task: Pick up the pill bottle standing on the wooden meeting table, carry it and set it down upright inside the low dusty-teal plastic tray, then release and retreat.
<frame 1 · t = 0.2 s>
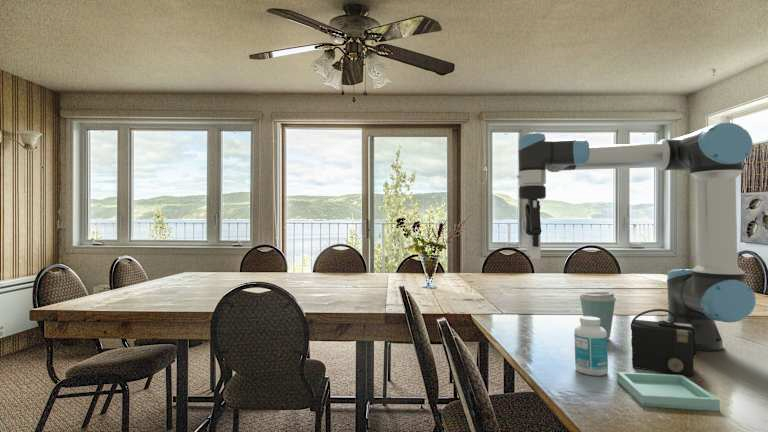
hand: (533, 256, 125), 28 cm above the table, fingers open, 13 cm apart
tray: (664, 394, 91), on the table
pill bottle: (591, 372, 106), on the table
camera: (662, 368, 109), on the table
disposable coffee cup: (598, 338, 138), on the table
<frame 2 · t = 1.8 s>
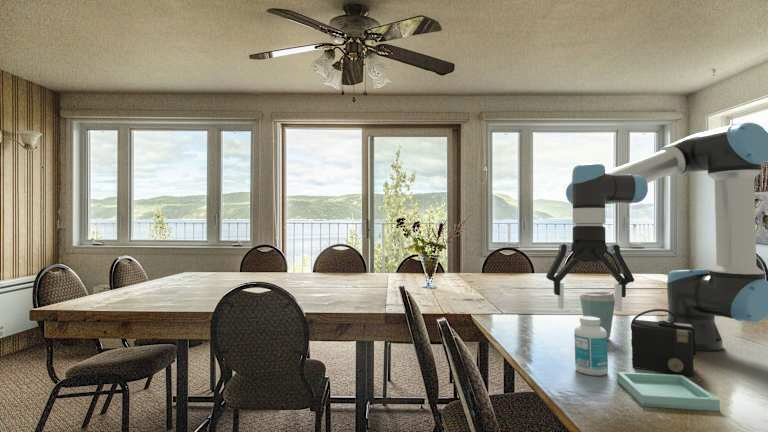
hand: (589, 309, 106), 16 cm above the table, fingers open, 13 cm apart
nothing on the table moved.
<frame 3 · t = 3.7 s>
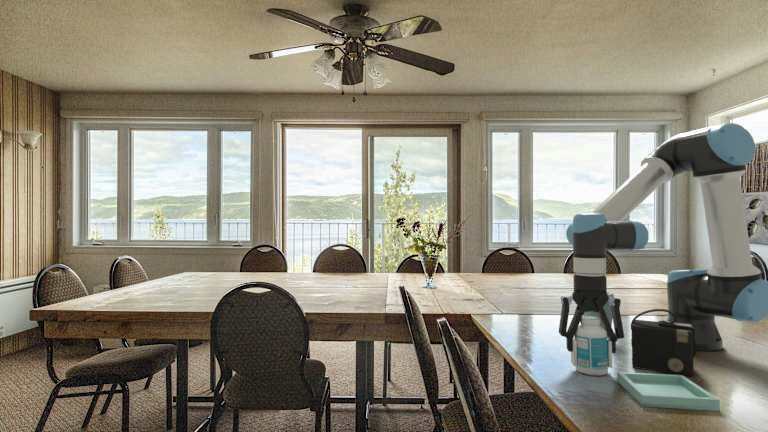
hand: (591, 365, 106), 2 cm above the table, fingers closed on pill bottle, 7 cm apart
pill bottle: (591, 372, 106), on the table, touching gripper
everything else where it was.
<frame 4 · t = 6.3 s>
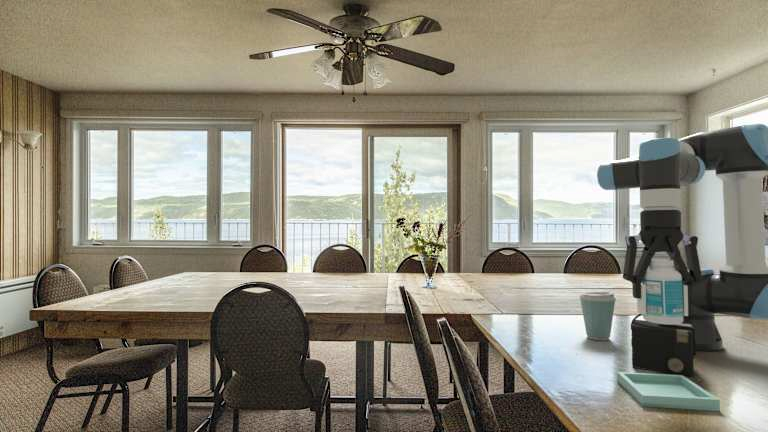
hand: (662, 313, 92), 18 cm above the table, fingers closed on pill bottle, 7 cm apart
pill bottle: (662, 322, 92), point 16 cm above the table, touching gripper
everything else where it was.
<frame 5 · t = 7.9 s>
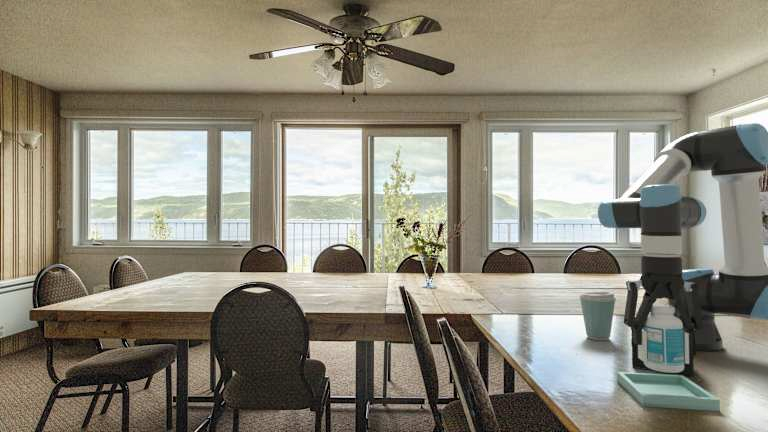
hand: (663, 360, 92), 7 cm above the table, fingers closed on pill bottle, 7 cm apart
pill bottle: (663, 369, 91), point 6 cm above the table, touching gripper
everything else where it was.
when the fingers open (3 cm above the table, at t = 9.2 s): pill bottle stays where it is, resting on tray.
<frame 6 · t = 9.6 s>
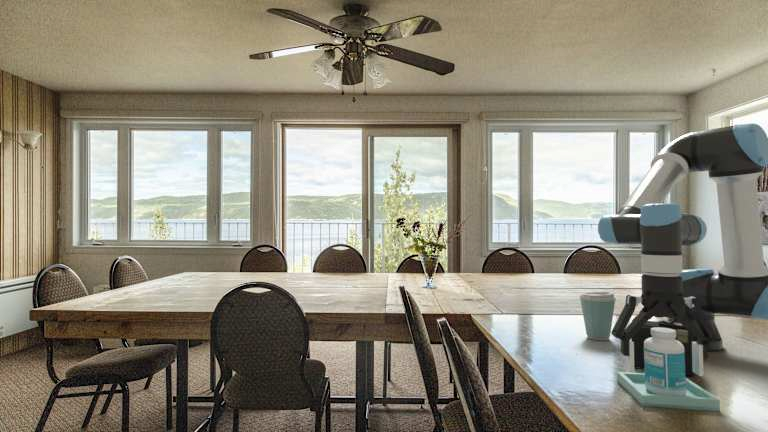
hand: (663, 372, 92), 5 cm above the table, fingers open, 13 cm apart
pill bottle: (665, 392, 91), resting on tray
everything else where it was.
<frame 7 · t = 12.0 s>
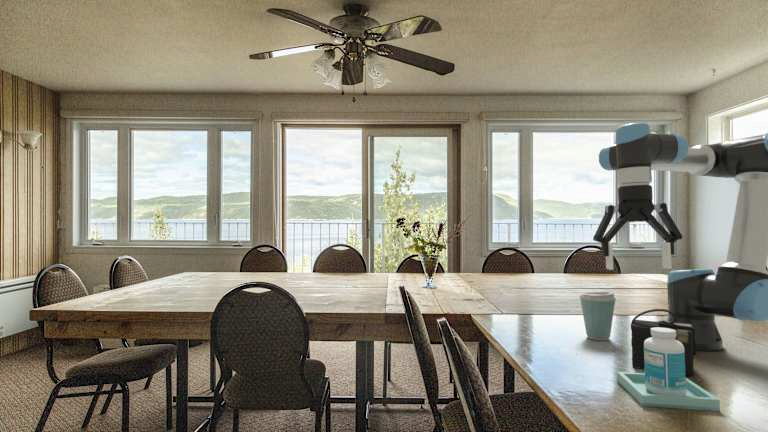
hand: (638, 268, 107), 26 cm above the table, fingers open, 13 cm apart
nothing on the table moved.
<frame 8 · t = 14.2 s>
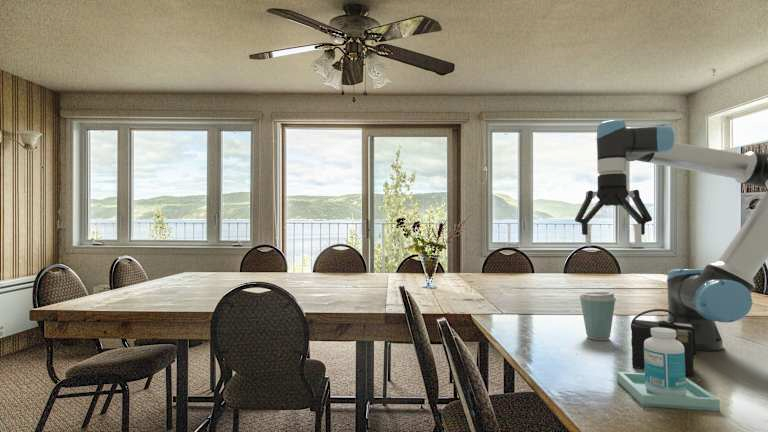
hand: (613, 246, 124), 31 cm above the table, fingers open, 13 cm apart
nothing on the table moved.
at the end: pill bottle inside the target area on the tray (0.2 cm from its centre), point 0.4 cm above the tray's base; pill bottle tilted 0°; the gripper is holding nothing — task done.
